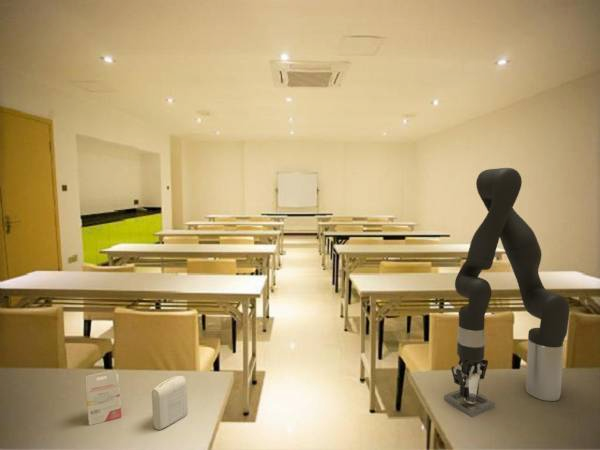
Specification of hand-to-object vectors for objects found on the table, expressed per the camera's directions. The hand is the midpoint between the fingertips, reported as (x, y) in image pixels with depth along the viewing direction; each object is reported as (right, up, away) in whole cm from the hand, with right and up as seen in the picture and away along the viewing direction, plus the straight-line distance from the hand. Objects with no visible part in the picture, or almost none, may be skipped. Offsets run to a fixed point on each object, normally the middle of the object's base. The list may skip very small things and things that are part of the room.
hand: (469, 394), depth 115 cm
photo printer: (-89, -5, -6) cm, 89 cm away
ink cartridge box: (-109, -5, -4) cm, 109 cm away
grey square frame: (0, -3, 0) cm, 3 cm away
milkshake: (0, -2, 0) cm, 2 cm away
